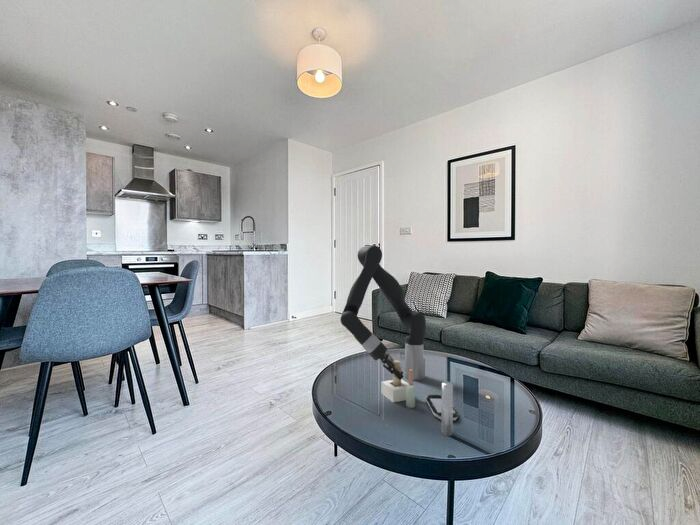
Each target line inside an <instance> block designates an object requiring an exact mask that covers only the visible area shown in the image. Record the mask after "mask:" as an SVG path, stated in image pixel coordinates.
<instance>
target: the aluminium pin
mask: <svg viewBox="0 0 700 525" xmlns="http://www.w3.org/2000/svg"><path fill="white" fill-rule="evenodd" d="M453 394H454V385H453V383H452V382H451V381H449V380H448V381H447V380H446V381H445V380H444V381H442V382H441V396H442V418H441V420H440V421H441V425H440V426H441V428H440V429H441V431H440V432H441V434H442V435H444V436H447V437H451V436H453V435H454V433H453V432H454V430H453V429H454V425H453V423H454V421H453V407H454V403H453V402H454V397H453V396H454V395H453Z"/></svg>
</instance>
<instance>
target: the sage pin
mask: <svg viewBox="0 0 700 525" xmlns="http://www.w3.org/2000/svg"><path fill="white" fill-rule="evenodd" d="M405 406H406V408H409V409H412V408H415V407H416V386H415V385H413V386H412V385H407V386H406V400H405Z"/></svg>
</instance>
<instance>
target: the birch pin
mask: <svg viewBox="0 0 700 525" xmlns="http://www.w3.org/2000/svg"><path fill="white" fill-rule="evenodd" d="M393 363H394V366H395V367H396V368H397V369H398V371H399V372H400V373H401V371H402V361H400V360H396V359H394V361H393ZM392 380H393V386H394V387H399V386H401V380H399V378H398V377H397V376H396V375H395V374H392Z"/></svg>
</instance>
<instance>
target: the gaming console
mask: <svg viewBox="0 0 700 525" xmlns="http://www.w3.org/2000/svg"><path fill="white" fill-rule="evenodd" d="M425 402H426V404H427V405H428V407H429V409H430V411H431V412H432V414H433V417H434V418H436V419H437V420H439V421H441V418H442V394H441V395H440V394H429V395H426V396H425ZM458 420H459V412H457V410H456V409H455V407H454V406H453V422H456V421H458Z"/></svg>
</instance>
